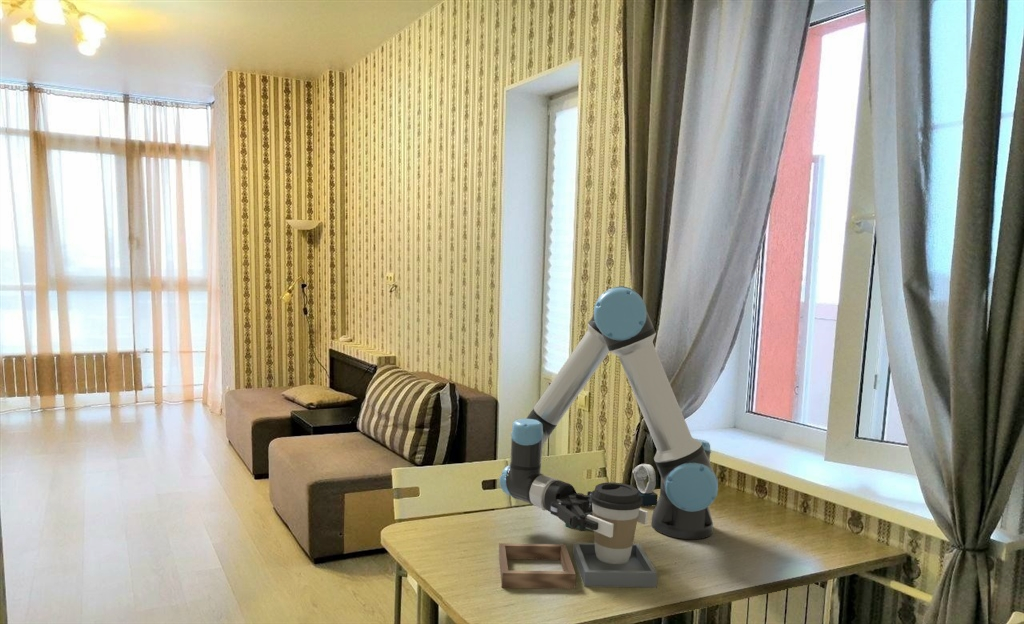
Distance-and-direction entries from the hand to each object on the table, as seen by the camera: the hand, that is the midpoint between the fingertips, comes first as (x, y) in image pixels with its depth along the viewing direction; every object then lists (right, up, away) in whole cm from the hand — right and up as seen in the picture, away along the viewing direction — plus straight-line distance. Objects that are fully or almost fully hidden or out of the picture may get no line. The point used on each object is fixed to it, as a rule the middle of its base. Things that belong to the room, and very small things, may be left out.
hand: (629, 524), depth 144 cm
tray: (-3, -11, +4) cm, 12 cm away
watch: (+12, -9, +48) cm, 50 cm away
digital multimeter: (-6, -10, +34) cm, 36 cm away
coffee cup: (-3, -8, +3) cm, 10 cm away
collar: (-20, -10, +1) cm, 23 cm away
